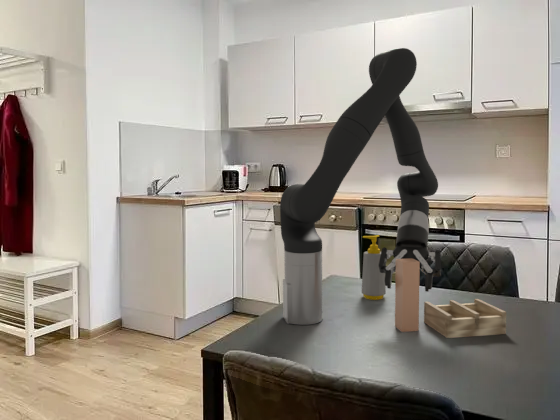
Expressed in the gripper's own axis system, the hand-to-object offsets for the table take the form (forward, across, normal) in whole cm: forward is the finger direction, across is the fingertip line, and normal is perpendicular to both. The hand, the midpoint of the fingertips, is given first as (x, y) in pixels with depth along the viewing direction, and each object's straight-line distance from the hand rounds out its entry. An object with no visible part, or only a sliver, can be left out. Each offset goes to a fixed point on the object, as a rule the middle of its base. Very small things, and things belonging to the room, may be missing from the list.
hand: (407, 288), depth 110 cm
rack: (+4, +12, +9) cm, 16 cm away
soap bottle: (-10, -12, +23) cm, 28 cm away
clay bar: (+7, 0, +6) cm, 9 cm away
